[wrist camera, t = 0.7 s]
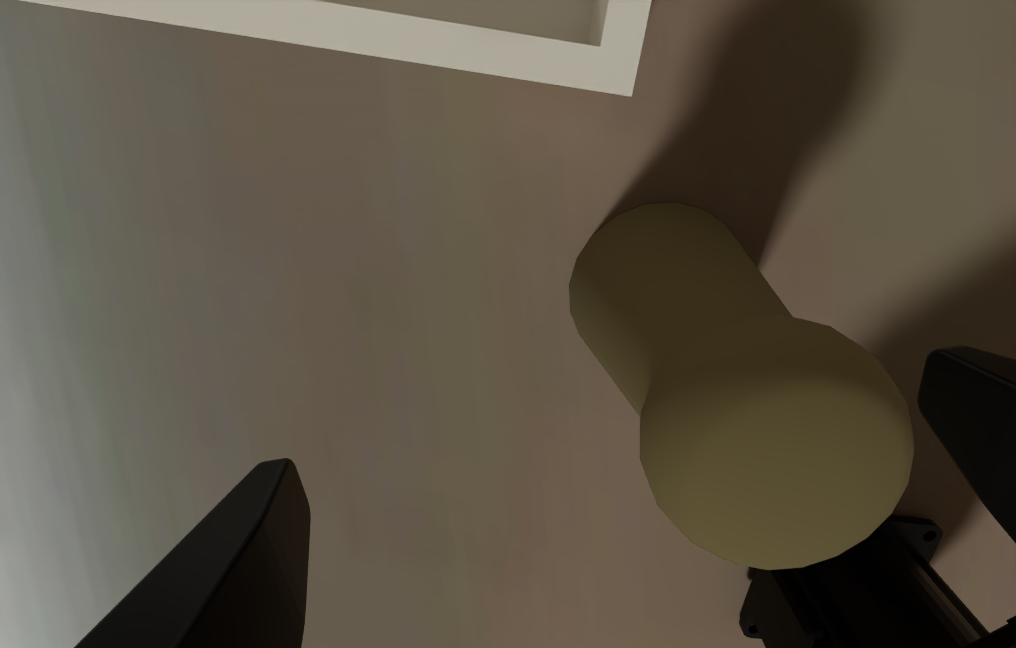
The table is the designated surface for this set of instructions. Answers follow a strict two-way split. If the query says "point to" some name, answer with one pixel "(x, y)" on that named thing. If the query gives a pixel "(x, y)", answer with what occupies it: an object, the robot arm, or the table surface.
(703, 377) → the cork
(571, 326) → the table surface
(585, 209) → the table surface
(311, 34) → the tray
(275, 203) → the table surface
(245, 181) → the table surface
